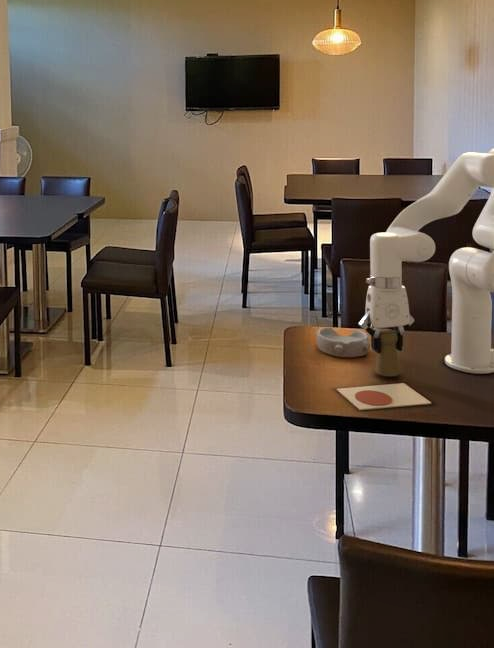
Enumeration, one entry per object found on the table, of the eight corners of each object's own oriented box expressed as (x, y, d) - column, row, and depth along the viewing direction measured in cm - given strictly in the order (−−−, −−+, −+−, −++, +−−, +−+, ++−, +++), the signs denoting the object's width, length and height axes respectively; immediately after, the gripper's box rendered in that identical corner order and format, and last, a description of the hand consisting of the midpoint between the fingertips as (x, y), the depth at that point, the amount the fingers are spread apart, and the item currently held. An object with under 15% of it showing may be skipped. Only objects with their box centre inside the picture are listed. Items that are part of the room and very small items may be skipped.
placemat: (403, 384, 184) (403, 382, 184) (431, 403, 172) (431, 401, 172) (336, 389, 181) (336, 387, 181) (360, 410, 169) (360, 408, 169)
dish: (312, 342, 215) (312, 325, 215) (360, 342, 215) (360, 325, 215) (324, 360, 201) (324, 342, 201) (375, 360, 200) (375, 342, 200)
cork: (401, 376, 186) (401, 334, 185) (376, 375, 187) (376, 333, 186) (397, 367, 192) (397, 326, 191) (373, 366, 193) (372, 326, 192)
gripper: (362, 288, 183) (363, 358, 184) (425, 282, 185) (425, 352, 187) (348, 280, 190) (349, 348, 192) (408, 275, 193) (409, 342, 194)
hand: (387, 349), depth 189 cm, fingers closed on cork, 5 cm apart
